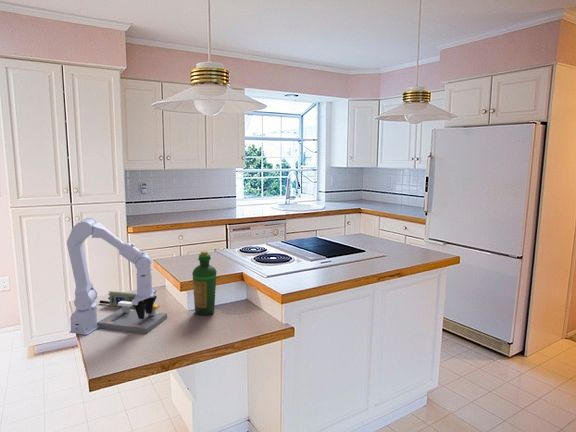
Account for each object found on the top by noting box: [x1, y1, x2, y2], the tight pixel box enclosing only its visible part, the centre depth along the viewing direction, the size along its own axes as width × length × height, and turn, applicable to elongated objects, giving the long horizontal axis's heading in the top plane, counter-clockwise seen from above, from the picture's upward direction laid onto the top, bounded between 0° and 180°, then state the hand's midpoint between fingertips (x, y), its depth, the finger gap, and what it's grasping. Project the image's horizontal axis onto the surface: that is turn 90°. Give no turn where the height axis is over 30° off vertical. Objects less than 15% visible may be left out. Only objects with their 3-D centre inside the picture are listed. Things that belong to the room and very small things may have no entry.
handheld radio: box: [98, 290, 144, 309], centre depth 183 cm, size 7×3×25 cm
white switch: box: [118, 301, 133, 313], centre depth 171 cm, size 2×6×4 cm, turn 78°
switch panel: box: [97, 307, 168, 334], centre depth 167 cm, size 16×22×2 cm
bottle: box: [192, 250, 217, 316], centre depth 177 cm, size 11×11×28 cm
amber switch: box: [148, 303, 160, 316], centre depth 169 cm, size 2×6×4 cm, turn 78°
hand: (145, 315), depth 164 cm, fingers open, 5 cm apart
